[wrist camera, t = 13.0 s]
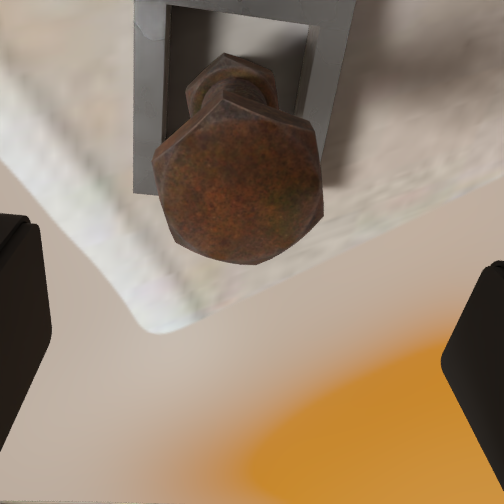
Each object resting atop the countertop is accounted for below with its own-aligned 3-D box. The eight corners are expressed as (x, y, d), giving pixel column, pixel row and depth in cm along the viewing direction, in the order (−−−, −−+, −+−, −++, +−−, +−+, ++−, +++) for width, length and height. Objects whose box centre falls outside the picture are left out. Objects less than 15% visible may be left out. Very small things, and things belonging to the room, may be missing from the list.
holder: (343, -7, 25) (357, -4, 23) (302, 190, 31) (309, 210, 28) (143, -38, 24) (133, -38, 21) (140, 173, 30) (133, 193, 27)
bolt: (294, 61, 27) (361, 151, 14) (263, 142, 29) (295, 282, 16) (196, 22, 25) (172, 83, 13) (171, 111, 28) (130, 236, 15)
